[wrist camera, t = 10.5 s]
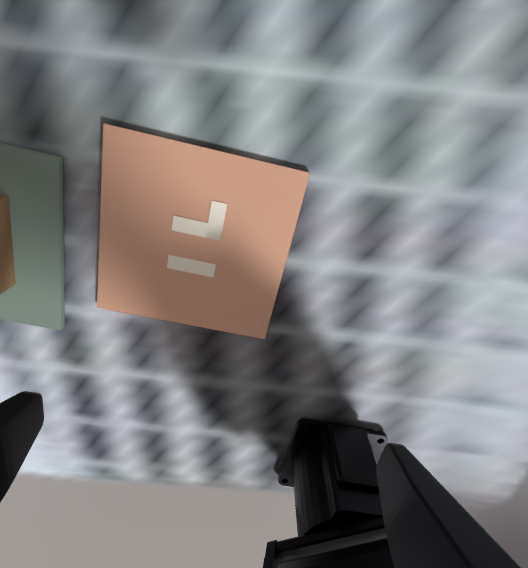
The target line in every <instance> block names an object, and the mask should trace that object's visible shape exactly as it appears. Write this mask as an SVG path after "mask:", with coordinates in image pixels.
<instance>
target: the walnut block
mask: <svg viewBox="0 0 528 568" xmlns="http://www.w3.org/2000/svg"><path fill="white" fill-rule="evenodd" d="M15 284H16V281H15V268H14V255H13V242H12V230H11V217H10V204H9V196H6V195H1V194H0V294H2V293H3V292H5V291H6V290H8V289H9V288H11V287H12V286H14V285H15Z"/></svg>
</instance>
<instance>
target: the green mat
mask: <svg viewBox="0 0 528 568" xmlns="http://www.w3.org/2000/svg"><path fill="white" fill-rule="evenodd" d="M0 194H1V195H6V196H9V204H10V217H11V230H12V242H13V255H14V268H15V281H16V284H15V285H14V286H12V287H11V288H9V289H8V290H6V291H5V292H3V293H2V294H0V319H1V320H7V321H12V322H18V323H23V324H29V325H34V326H40V327H45V328H51V329H56V330H62V329H63V328H64V220H63V157H61V156H56V155H52V154H48V153H43V152H39V151H34V150H30V149H26V148H21V147H17V146H12V145H8V144H4V143H0Z"/></svg>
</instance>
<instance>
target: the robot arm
mask: <svg viewBox="0 0 528 568" xmlns="http://www.w3.org/2000/svg"><path fill="white" fill-rule="evenodd" d="M43 422H44V411H43V400H42V396H41V394H39V393H34V392H27V391H24V392H21V393H18V394H17V395H15V396H13V397H11V398H9V399H7V400H5V401H3V402H1V403H0V502H1V500H2V499H3V497H4V496H5V494H6V492H7V491H8V489H9V488H10V486H11V484H12V482H13V481H14V479H15V477H16V475H17V473H18V471H19V469H20V467H21V466H22V464H23V462H24V460H25V458H26V456H27V454H28V452H29V450H30V448H31V447H32V445H33V443H34V441H35V439H36V437H37V435H38V433H39V431H40V429H41V427H42V425H43ZM387 442H388V439H387V436H386V434H385V433H384V432H382V431H376V430H370V429H365V428H359V427H353V426H347V425H341V424H335V423H329V422H324V421H318V420H312V419H305V418H303V419H300V420H299V421H298V422H297V425H296V428H295V430H294V433H293V436H292V439H291V442H290V444H289V447H288V450H287V453H286V455H285V458H284V461H283V464H282V467H281V469H280V472H279V475H278V482H279V484H281V485H284V486H290V487H294V495H295V507H296V518H297V531H298V537H295V538H290V539H286V540H282V541H278V542H277V540H274V541H270V542H267V547H266V555H265V558H264V564H263V568H521V567H520V566H519V565H518V564H517V563H516V562H515V561H514V560H513V559H512V558H511V557H510V556H509V555H508V554H507V553H506V552H505V551H504V550H503V548H501V546H500V545H499V544H498V543H497V542H496V541H495V540H494V539H493V538H492V537H491V536H490V535H489V534H488V533H487V532H486V531H485V530H484V529H483V528H482V527H481V526H480V525H479V523H478V522H476V521H475V519H474V518H473V517H472V516H471V515H470V514H469V513H468V512H467V511H466V510H465V509H464V508H463V507H462V506H461V505H460V504H459V503H458V502H457V500H456V499H455V498H454V497H453V496H452V495H451V494H450V493H449V492H448V491H447V490H446V489H445V488H444V487H443V486H442V485H441V484H440V483H439V482H438V481H437V480H436V479H435V478H434V477H433V475H432V474H431V473H430V472H429V471H428V470H427V469H426V468H425V467H424V466H423V465H422V464H421V463H420V462H419V461H418V460H417V459H416V458H415V457H414V456H413V455H412V454H411V453H410V451H409V450H408V449H407V448H406V447H405V446H403V445H401V444H395V443H387ZM379 458H380V459H379ZM378 460H379V461H378ZM377 461H378V463H377Z"/></svg>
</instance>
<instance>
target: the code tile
mask: <svg viewBox="0 0 528 568" xmlns="http://www.w3.org/2000/svg"><path fill="white" fill-rule="evenodd" d="M309 175H310V172H307V171H302V170H298V169H294V168H290V167H286V166H282V165H277V164H273V163H269V162H265V161H261V160H257V159H252V158H248V157H244V156H240V155H236V154H231V153H227V152H223V151H219V150H215V149H211V148H206V147H202V146H198V145H194V144H190V143H186V142H181V141H177V140H173V139H169V138H165V137H161V136H156V135H152V134H148V133H144V132H140V131H136V130H131V129H127V128H123V127H119V126H115V125H111V124H106V123H104V124H103V149H102V178H101V207H100V236H99V265H98V293H97V307H98V308H103V309H108V310H113V311H118V312H124V313H129V314H134V315H139V316H145V317H150V318H155V319H160V320H166V321H171V322H176V323H181V324H187V325H192V326H197V327H202V328H208V329H213V330H218V331H223V332H229V333H234V334H239V335H244V336H250V337H255V338H260V339H265V337H266V333H267V329H268V326H269V322H270V318H271V314H272V311H273V307H274V303H275V300H276V296H277V292H278V289H279V285H280V281H281V278H282V274H283V270H284V267H285V263H286V259H287V256H288V252H289V248H290V245H291V241H292V237H293V234H294V230H295V226H296V223H297V219H298V215H299V212H300V208H301V204H302V201H303V197H304V193H305V190H306V186H307V182H308V179H309Z"/></svg>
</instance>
